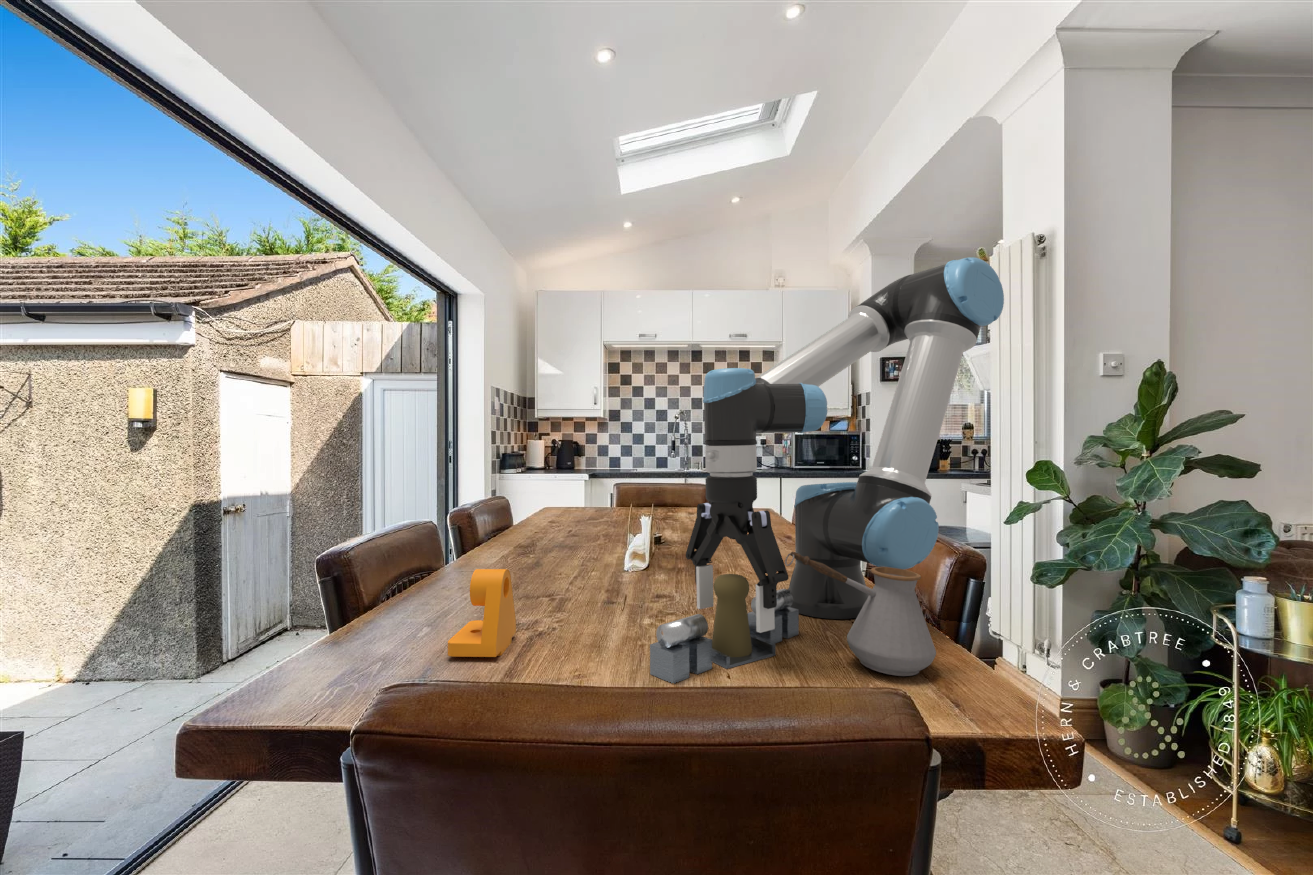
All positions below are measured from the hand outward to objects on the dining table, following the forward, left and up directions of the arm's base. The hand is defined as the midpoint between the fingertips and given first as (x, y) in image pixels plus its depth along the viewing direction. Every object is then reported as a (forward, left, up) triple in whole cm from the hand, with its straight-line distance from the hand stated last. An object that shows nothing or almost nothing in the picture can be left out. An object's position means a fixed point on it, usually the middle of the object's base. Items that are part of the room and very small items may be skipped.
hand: (733, 618), depth 90 cm
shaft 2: (-10, -2, -5) cm, 11 cm away
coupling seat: (0, 0, -5) cm, 5 cm away
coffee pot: (-9, +14, -4) cm, 18 cm away
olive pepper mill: (0, 0, -5) cm, 5 cm away
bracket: (+30, -22, -5) cm, 38 cm away
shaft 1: (+10, +2, -5) cm, 12 cm away
